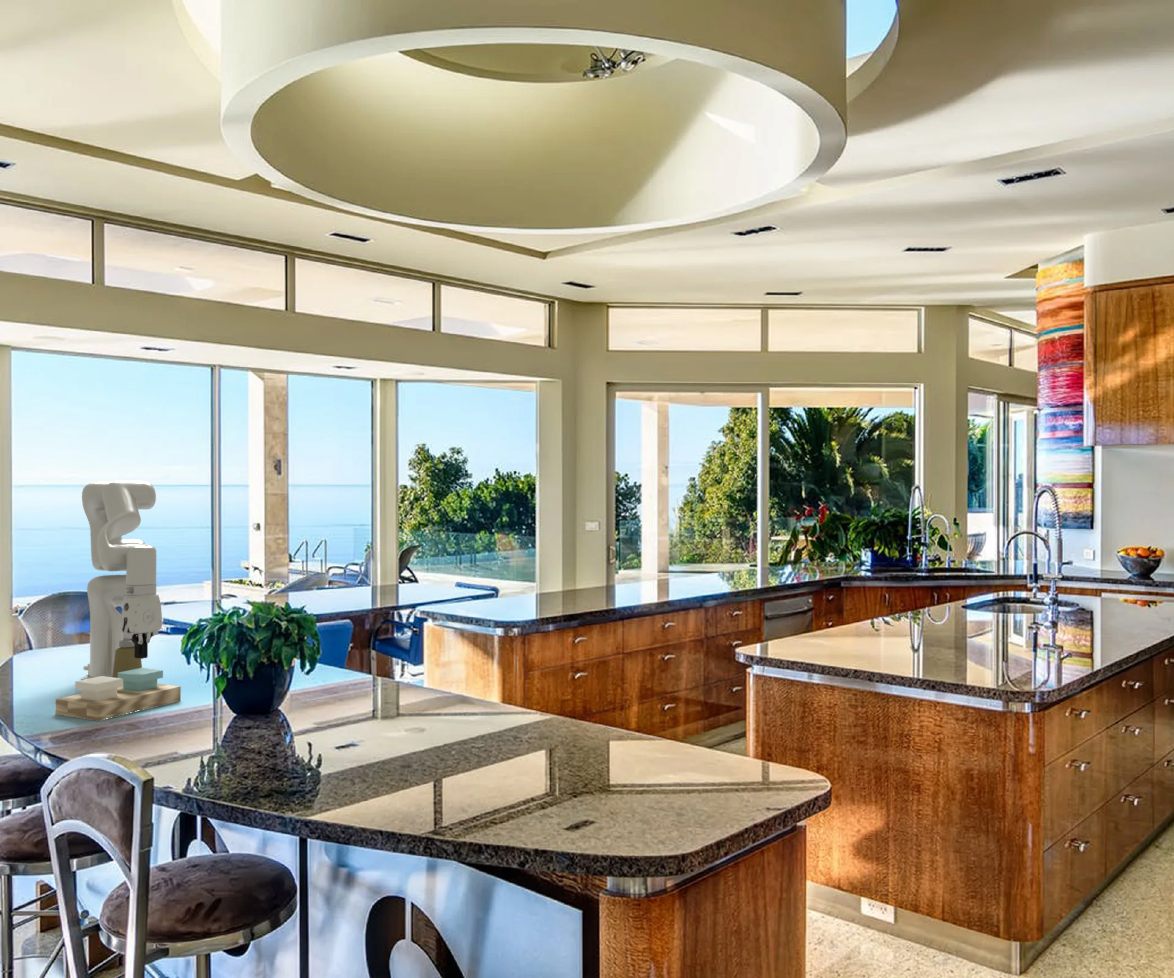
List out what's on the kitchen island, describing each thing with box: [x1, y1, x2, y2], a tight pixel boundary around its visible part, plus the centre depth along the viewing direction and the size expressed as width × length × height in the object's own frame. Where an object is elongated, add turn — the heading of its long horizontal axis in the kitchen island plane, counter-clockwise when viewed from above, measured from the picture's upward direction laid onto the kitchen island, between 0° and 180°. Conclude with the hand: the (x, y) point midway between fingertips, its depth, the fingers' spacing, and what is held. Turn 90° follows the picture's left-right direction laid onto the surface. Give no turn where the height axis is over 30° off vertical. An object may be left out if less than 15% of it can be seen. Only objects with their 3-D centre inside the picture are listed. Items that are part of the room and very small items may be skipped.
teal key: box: [118, 667, 164, 692], centre depth 269 cm, size 8×8×5 cm
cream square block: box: [74, 676, 123, 701], centre depth 257 cm, size 8×8×5 cm
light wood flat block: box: [55, 682, 182, 722], centre depth 263 cm, size 26×16×4 cm, turn 155°
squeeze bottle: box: [112, 638, 143, 678], centre depth 285 cm, size 8×8×18 cm
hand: (141, 657), depth 269 cm, fingers closed
